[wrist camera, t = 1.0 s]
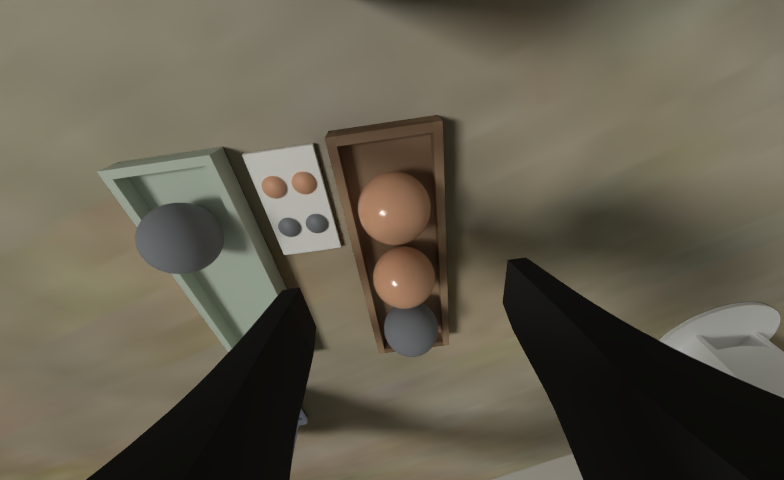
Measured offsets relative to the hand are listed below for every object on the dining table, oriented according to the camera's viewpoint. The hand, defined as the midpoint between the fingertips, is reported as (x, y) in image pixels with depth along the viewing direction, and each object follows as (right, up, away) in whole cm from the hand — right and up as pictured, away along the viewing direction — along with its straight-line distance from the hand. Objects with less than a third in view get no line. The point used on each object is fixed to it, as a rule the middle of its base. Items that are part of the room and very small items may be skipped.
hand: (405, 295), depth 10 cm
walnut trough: (0, +1, +10) cm, 10 cm away
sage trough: (-9, 0, +11) cm, 14 cm away
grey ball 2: (+1, -5, +11) cm, 12 cm away
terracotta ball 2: (0, 0, +8) cm, 8 cm away
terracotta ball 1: (0, +4, +6) cm, 7 cm away
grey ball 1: (-12, +2, +6) cm, 14 cm away
